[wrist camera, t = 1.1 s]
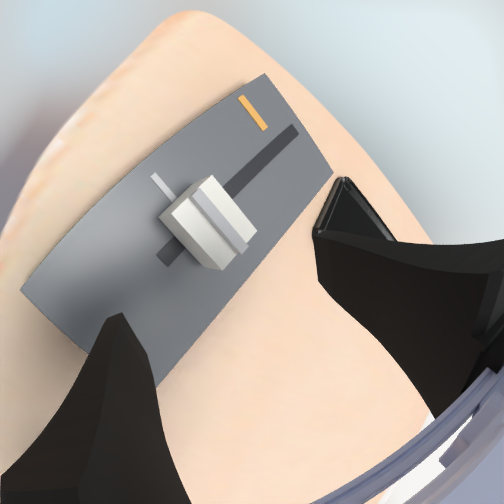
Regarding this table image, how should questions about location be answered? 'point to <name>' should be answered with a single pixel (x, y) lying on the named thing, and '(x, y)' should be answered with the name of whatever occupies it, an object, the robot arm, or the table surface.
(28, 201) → the table surface
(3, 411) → the table surface
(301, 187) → the console
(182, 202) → the fader
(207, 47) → the table surface
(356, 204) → the phone
